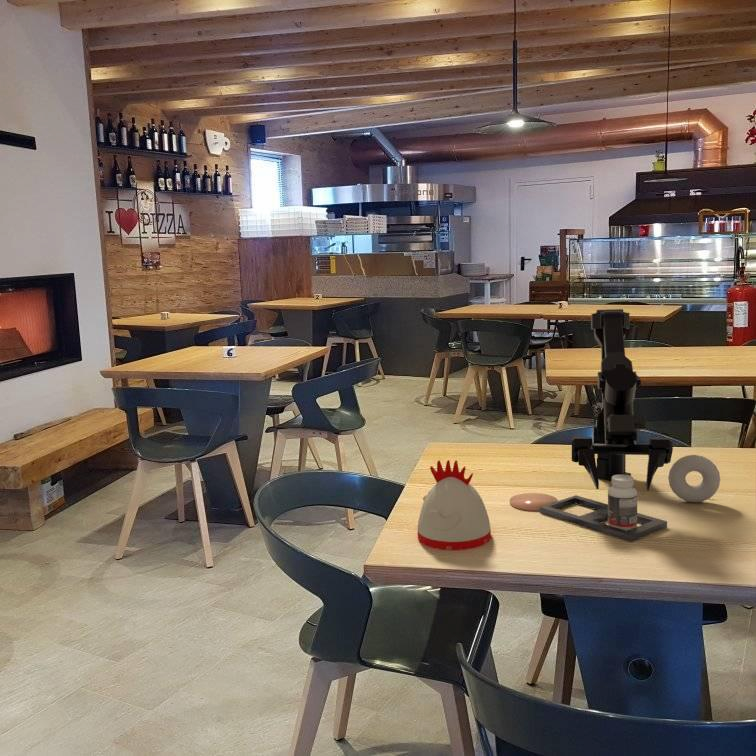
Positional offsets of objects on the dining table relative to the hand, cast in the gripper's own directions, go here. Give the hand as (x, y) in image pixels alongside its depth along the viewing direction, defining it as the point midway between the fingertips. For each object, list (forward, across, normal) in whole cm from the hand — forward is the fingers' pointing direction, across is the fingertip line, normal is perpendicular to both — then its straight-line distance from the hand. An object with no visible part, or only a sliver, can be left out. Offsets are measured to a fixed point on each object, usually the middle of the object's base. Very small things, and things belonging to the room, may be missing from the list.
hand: (622, 488), depth 151 cm
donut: (-6, +15, +17) cm, 24 cm away
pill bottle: (+5, 0, +6) cm, 8 cm away
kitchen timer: (+11, -31, 0) cm, 33 cm away
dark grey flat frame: (+3, -4, +8) cm, 9 cm away
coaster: (-4, -17, +14) cm, 23 cm away
